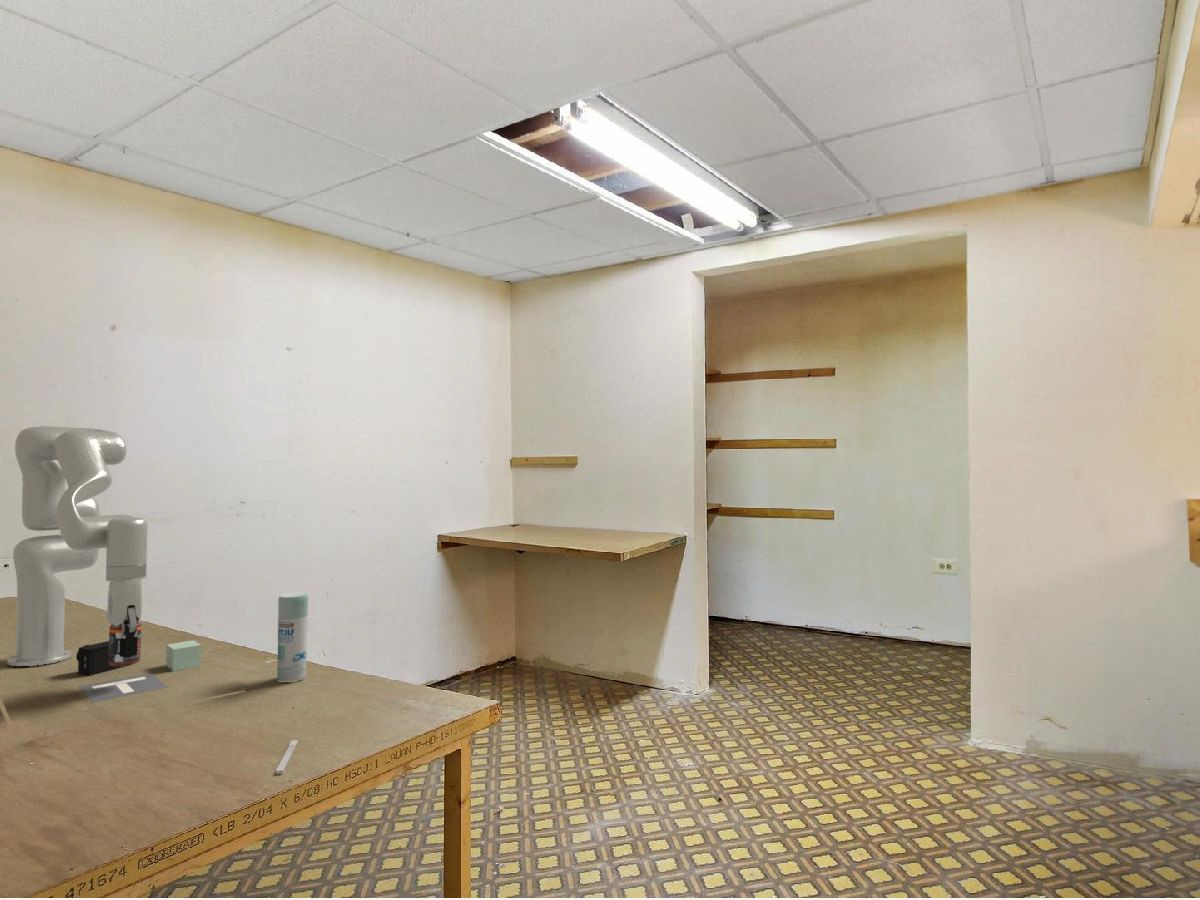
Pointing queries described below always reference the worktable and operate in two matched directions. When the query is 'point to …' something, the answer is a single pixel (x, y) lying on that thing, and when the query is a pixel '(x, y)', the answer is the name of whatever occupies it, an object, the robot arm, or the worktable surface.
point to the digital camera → (94, 659)
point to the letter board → (122, 687)
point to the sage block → (183, 655)
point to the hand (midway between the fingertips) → (124, 651)
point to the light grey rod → (286, 757)
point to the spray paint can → (292, 636)
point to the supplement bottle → (114, 647)
